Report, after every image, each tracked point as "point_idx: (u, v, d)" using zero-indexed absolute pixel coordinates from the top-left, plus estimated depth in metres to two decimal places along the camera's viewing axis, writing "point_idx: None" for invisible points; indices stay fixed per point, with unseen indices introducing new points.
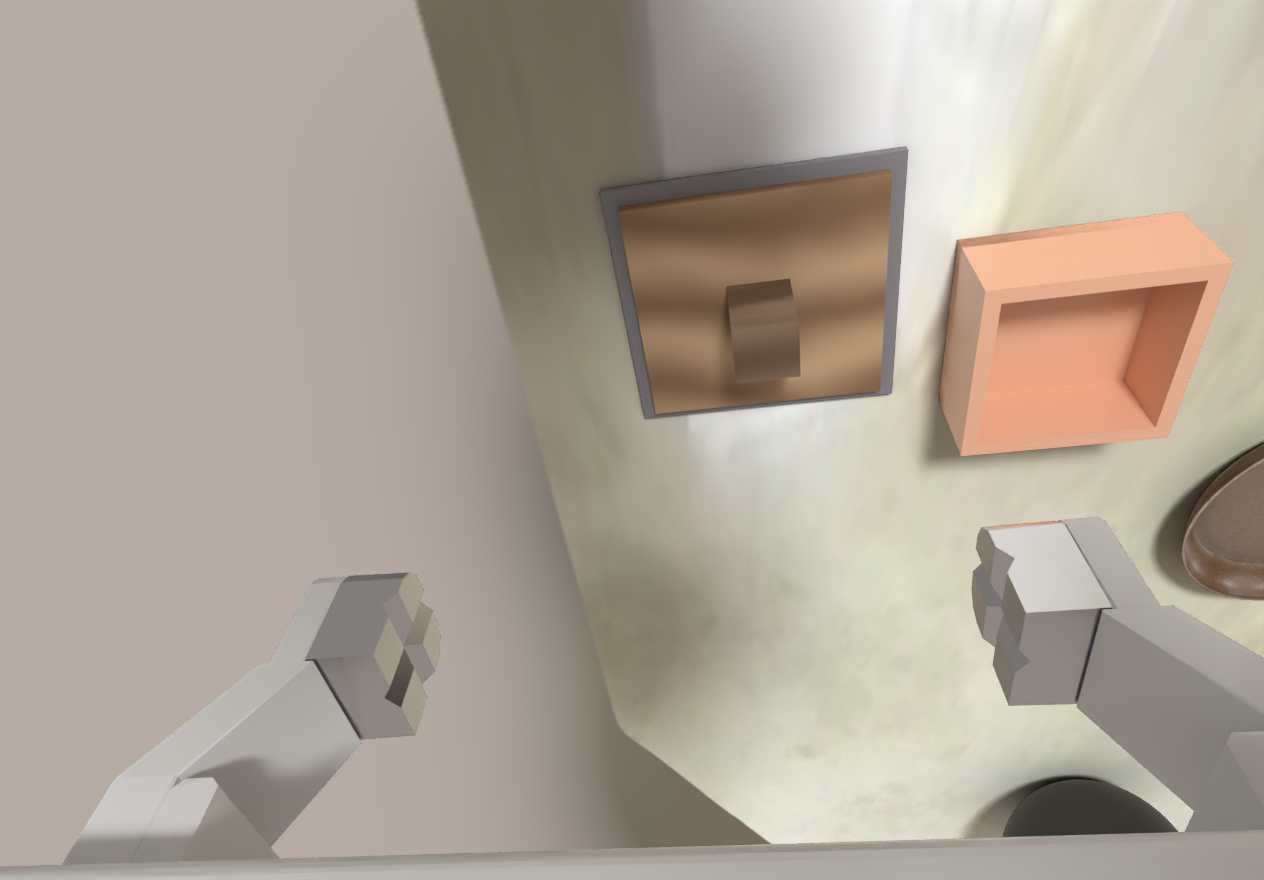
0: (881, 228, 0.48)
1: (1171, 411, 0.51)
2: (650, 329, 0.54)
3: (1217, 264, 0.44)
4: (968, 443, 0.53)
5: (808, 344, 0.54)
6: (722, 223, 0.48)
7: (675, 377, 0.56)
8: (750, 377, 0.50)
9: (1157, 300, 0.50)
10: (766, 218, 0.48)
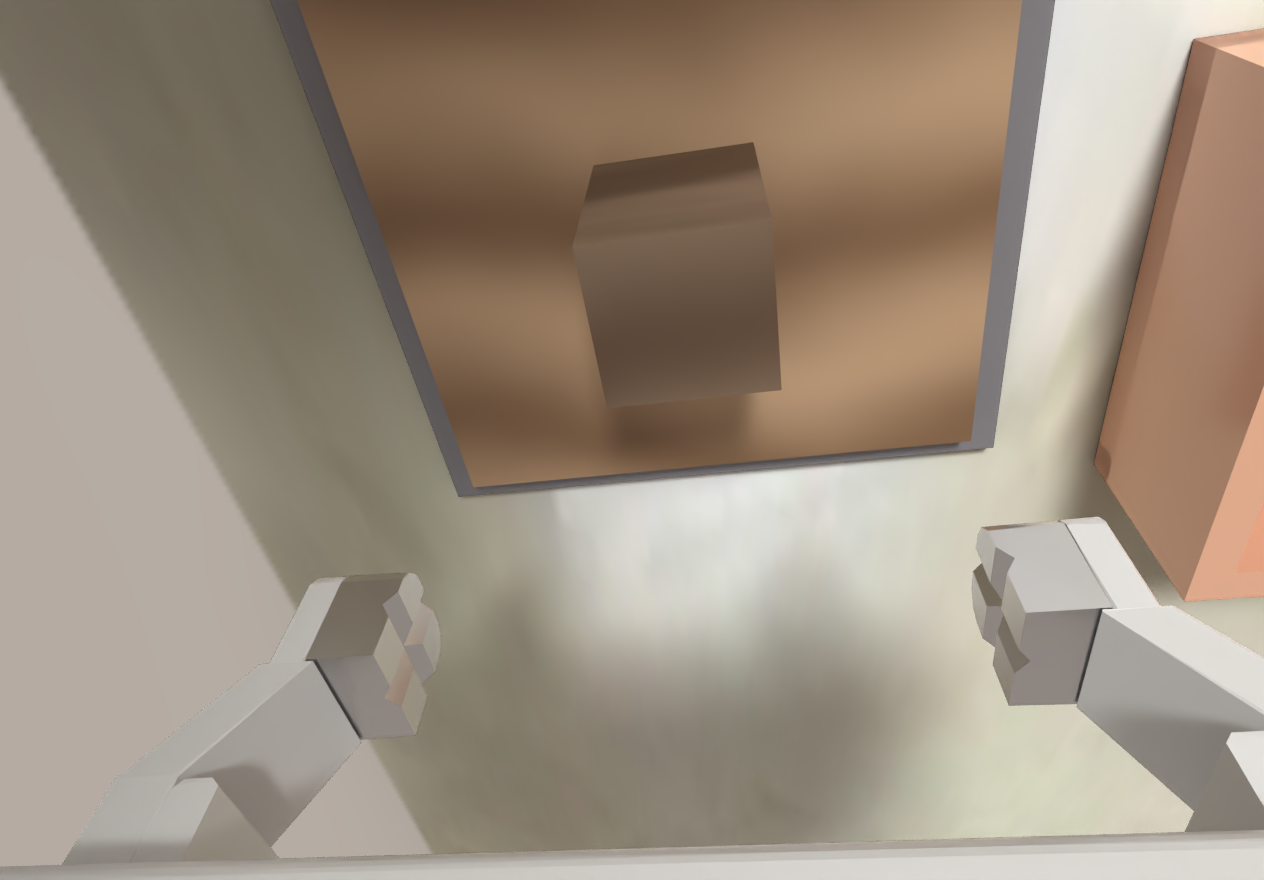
0: None
1: None
2: (424, 285, 0.22)
3: None
4: (1211, 570, 0.21)
5: (804, 325, 0.23)
6: None
7: (502, 405, 0.25)
8: (643, 393, 0.18)
9: None
10: None
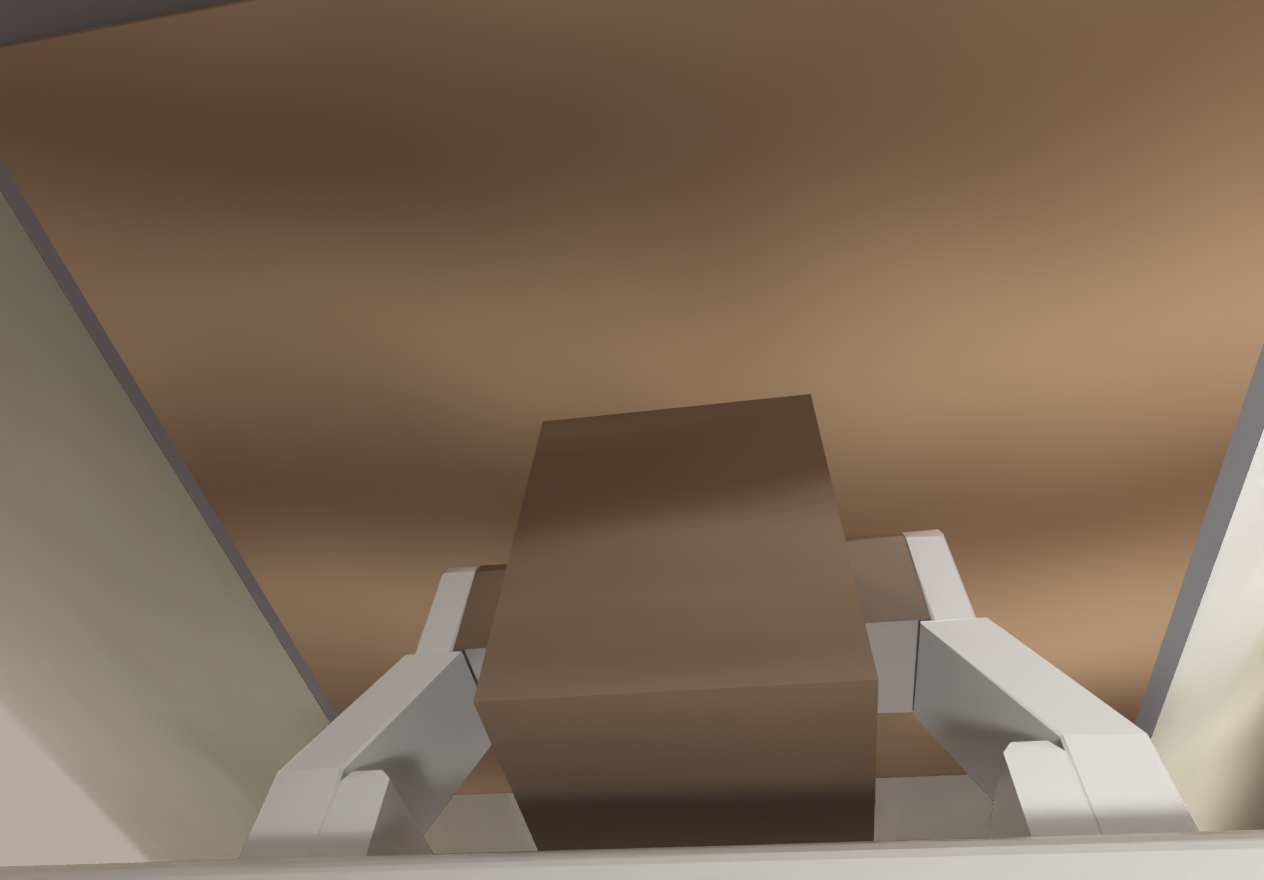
0: None
1: None
2: (287, 570, 0.14)
3: None
4: None
5: None
6: (469, 120, 0.10)
7: None
8: None
9: None
10: (691, 93, 0.09)
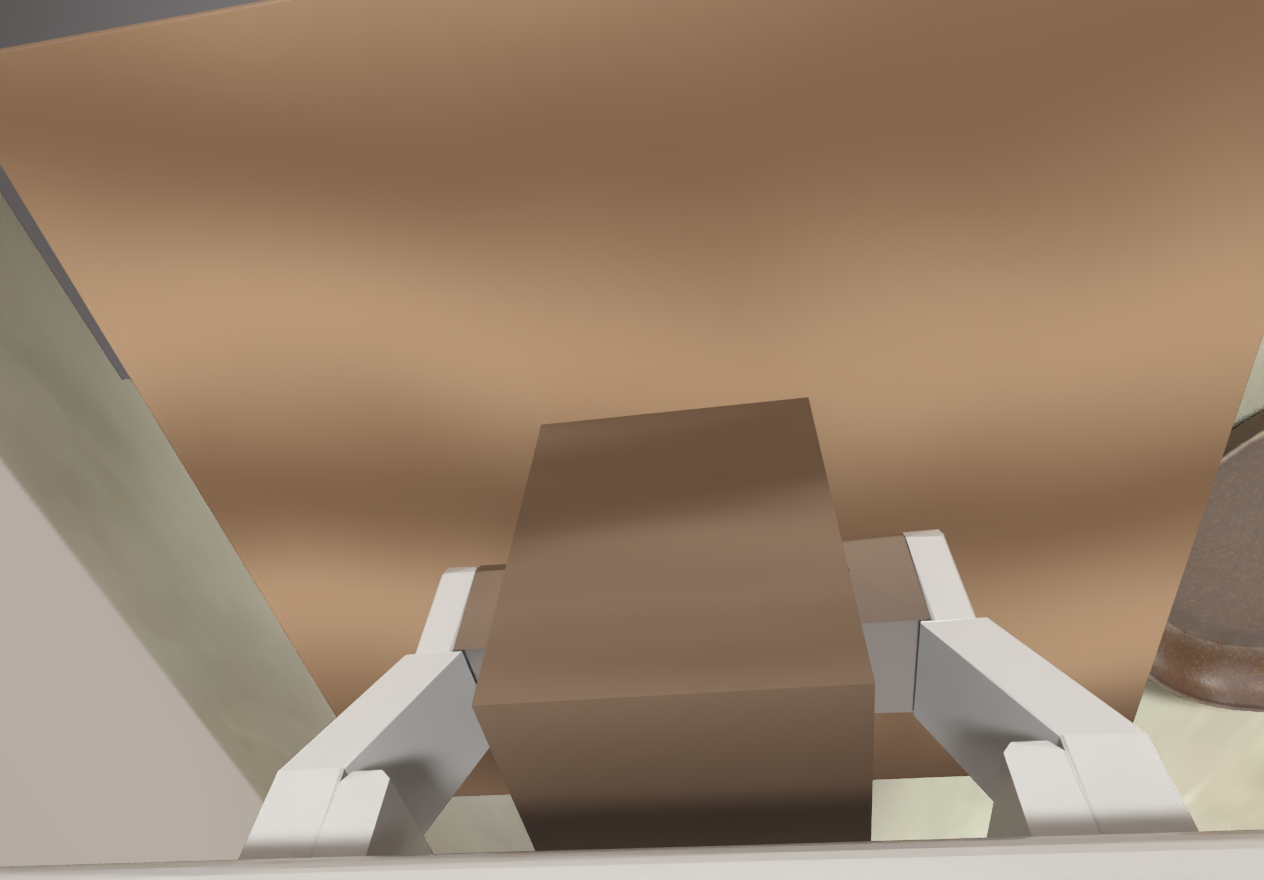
0: None
1: None
2: (286, 572, 0.14)
3: None
4: None
5: None
6: (467, 124, 0.10)
7: None
8: None
9: None
10: (688, 98, 0.09)
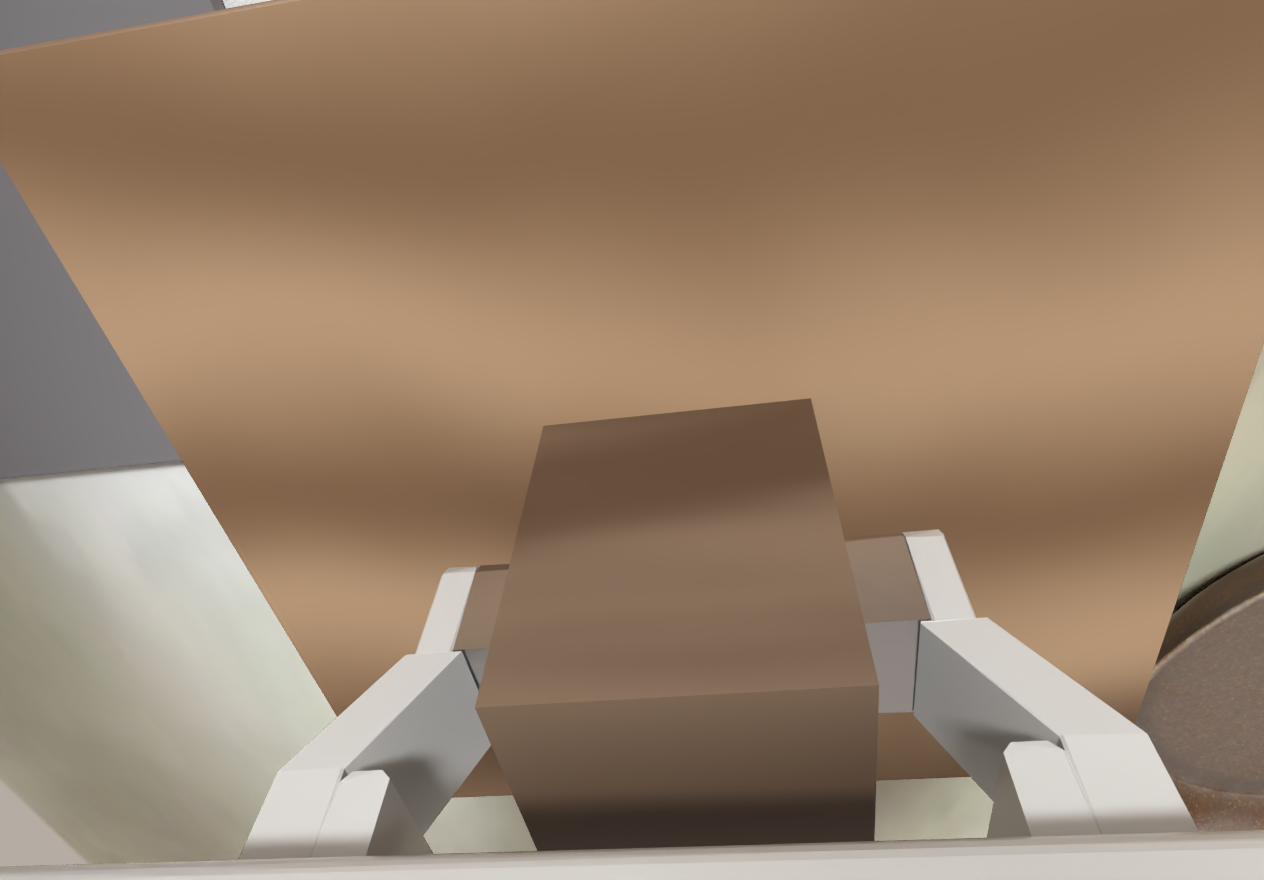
0: None
1: None
2: (287, 574, 0.14)
3: None
4: None
5: None
6: (470, 126, 0.10)
7: None
8: None
9: None
10: (691, 99, 0.09)
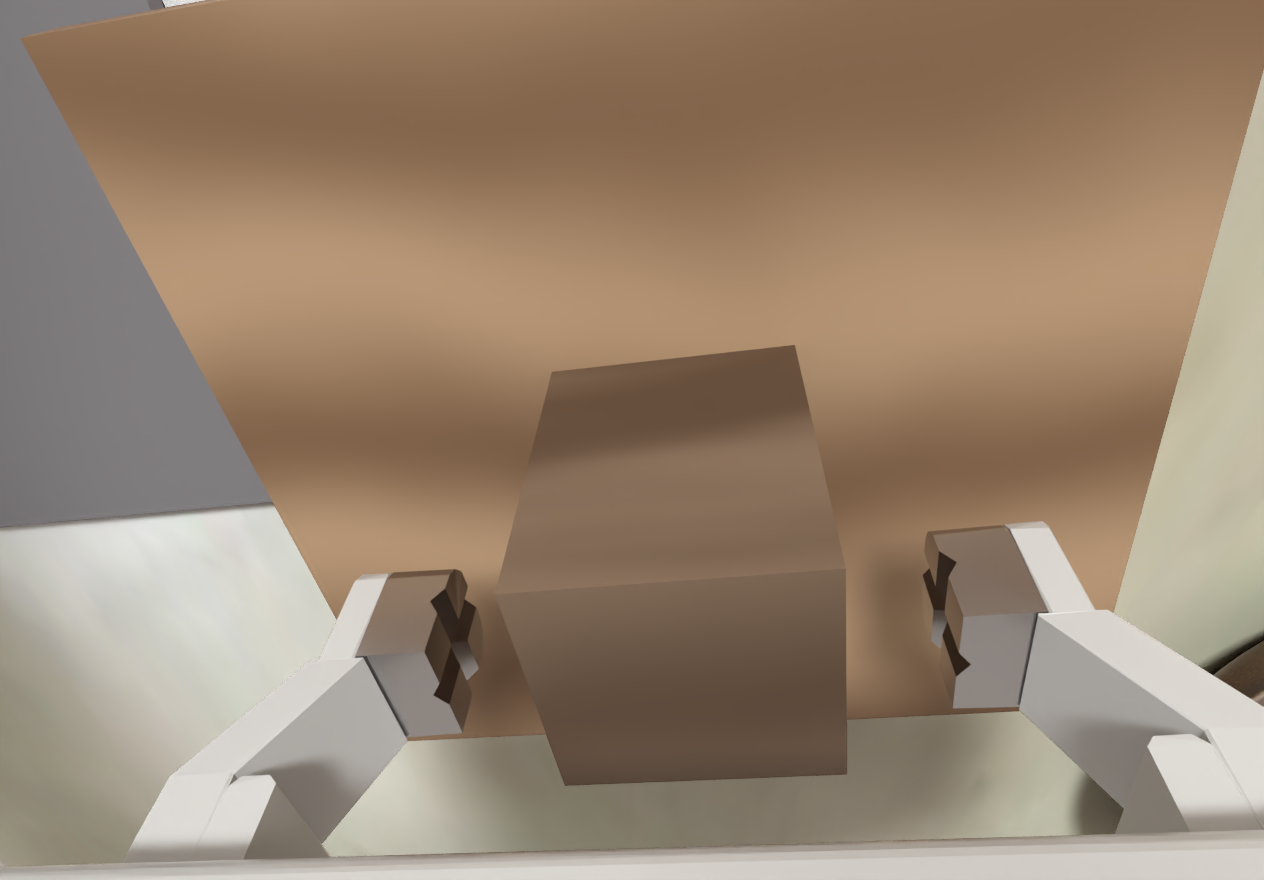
0: (1213, 119, 0.11)
1: None
2: (314, 516, 0.16)
3: None
4: None
5: (861, 573, 0.16)
6: (489, 91, 0.11)
7: None
8: (622, 770, 0.11)
9: None
10: (685, 67, 0.11)
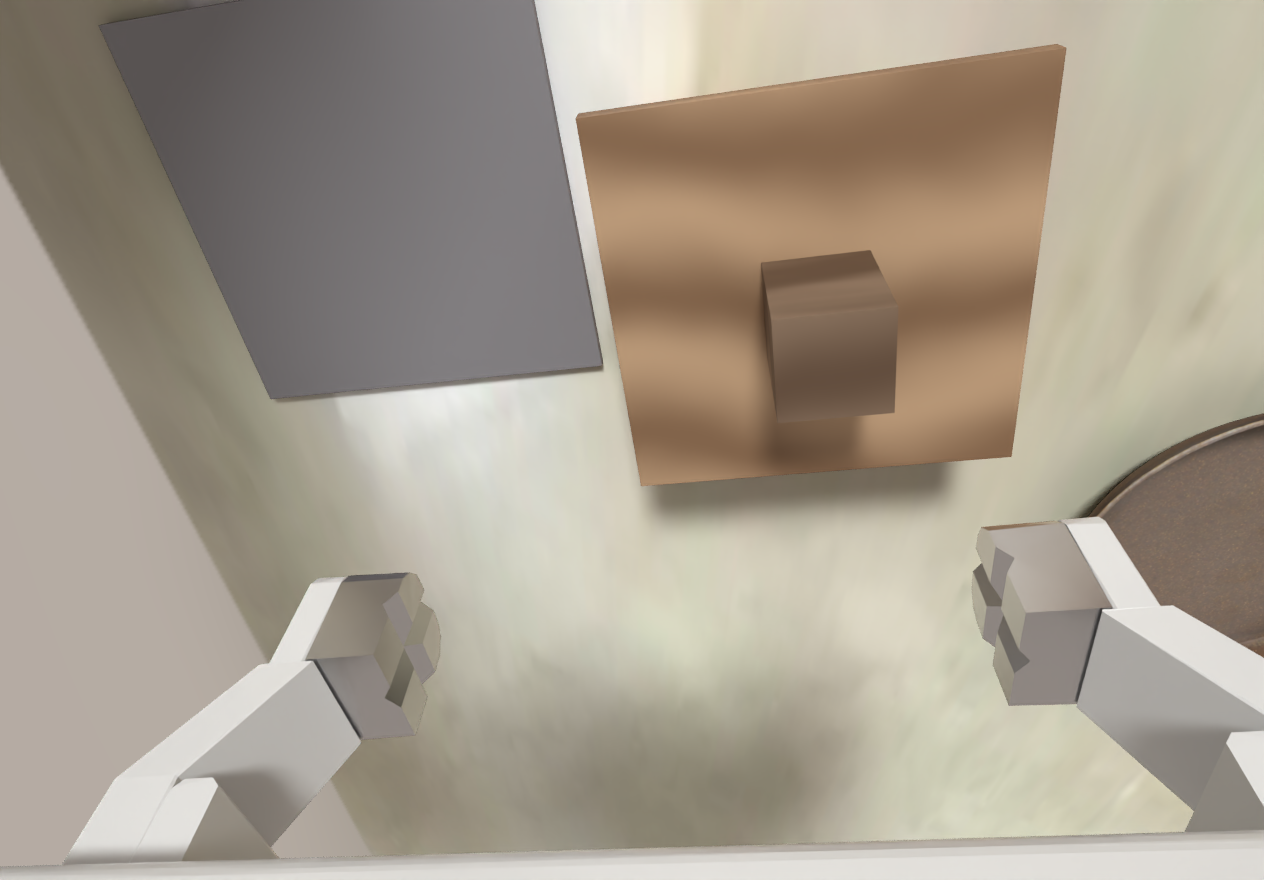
0: (1038, 155, 0.27)
1: None
2: (632, 339, 0.32)
3: None
4: None
5: (896, 371, 0.32)
6: (756, 141, 0.28)
7: (673, 424, 0.34)
8: (803, 413, 0.28)
9: None
10: (834, 133, 0.27)
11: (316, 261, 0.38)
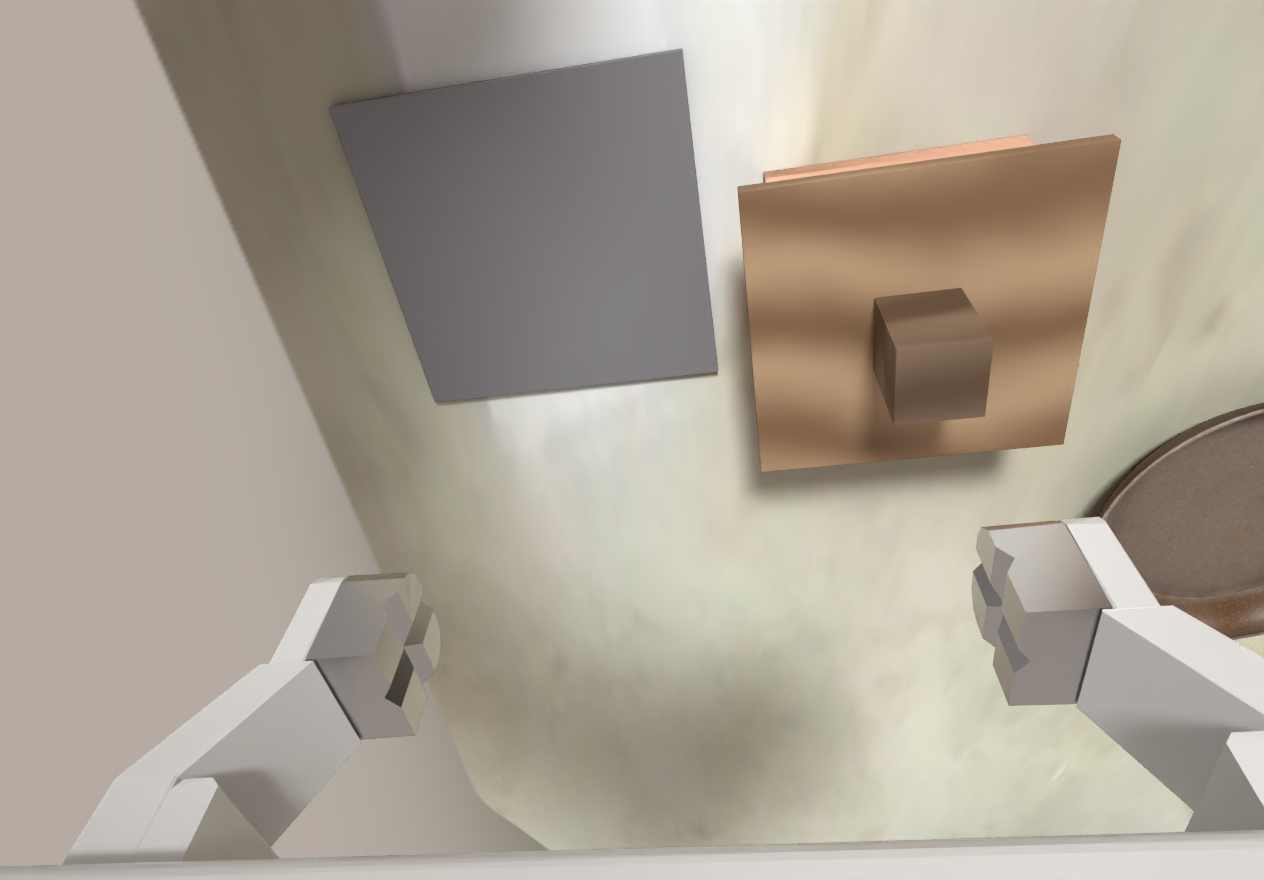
0: (1095, 217, 0.36)
1: None
2: (765, 357, 0.41)
3: None
4: None
5: None
6: (878, 208, 0.36)
7: (792, 423, 0.43)
8: (914, 417, 0.36)
9: None
10: (939, 202, 0.36)
11: (487, 290, 0.46)
